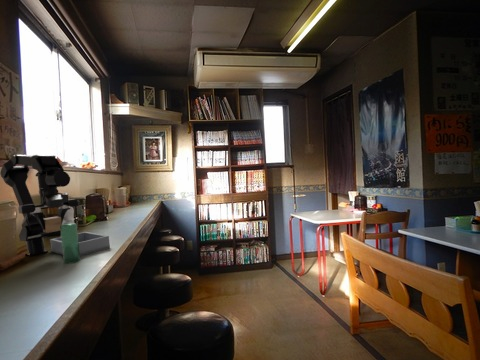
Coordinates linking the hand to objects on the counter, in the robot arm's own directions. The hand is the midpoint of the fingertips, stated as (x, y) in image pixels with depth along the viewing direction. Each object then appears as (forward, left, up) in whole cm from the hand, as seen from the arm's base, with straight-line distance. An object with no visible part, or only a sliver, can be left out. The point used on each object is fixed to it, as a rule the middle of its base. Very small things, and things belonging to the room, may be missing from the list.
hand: (52, 228), depth 111 cm
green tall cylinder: (+15, 0, -11) cm, 18 cm away
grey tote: (0, +9, -11) cm, 14 cm away
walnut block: (0, 0, -1) cm, 1 cm away
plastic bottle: (-24, +14, -11) cm, 30 cm away
